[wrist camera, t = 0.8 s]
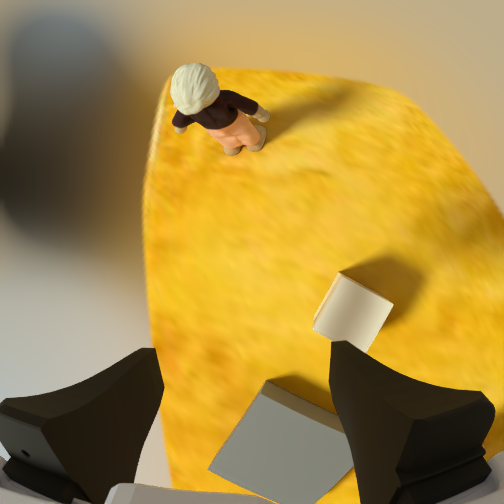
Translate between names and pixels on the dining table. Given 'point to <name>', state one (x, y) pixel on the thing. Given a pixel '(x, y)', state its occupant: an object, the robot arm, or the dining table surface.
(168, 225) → the dining table surface
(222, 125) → the grandmother figurine
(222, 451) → the base plinth
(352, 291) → the cream cube
